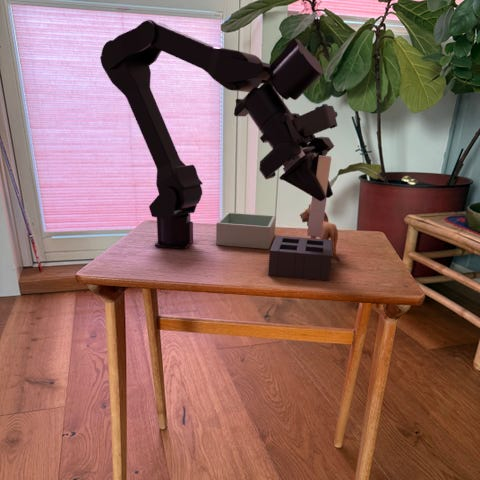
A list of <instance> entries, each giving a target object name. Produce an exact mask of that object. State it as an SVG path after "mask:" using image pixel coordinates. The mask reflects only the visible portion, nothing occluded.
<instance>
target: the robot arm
mask: <svg viewBox="0 0 480 480" xmlns="http://www.w3.org/2000/svg"><path fill="white" fill-rule="evenodd" d="M162 52H164V53H166V54H168V55H170V56H172V57H175V58H176V59H178V60H182V61H184V62H186V63H188V64H191V65H193V66H194V67H197V68H198V69H201V70H203V71H204V72H206V73H207V75H209V76H210V77H211V79H212V80H214V81H215V82H216V83H218V84H219V85H220V86H222V87H223V88H225V89H227V90H229V91H234V92H243V93H247V94H246V95H245V96H244V97H243V98H236V99H235V107H234V111H233V115H234V117H247V116H248V115H249V117H250V118H251V119H252V121H253V123H254V124H255V125H256V127H257V129H258V130H259V132H260V134H262V135H261V136H260V137H259V139H260V141H261V142H262V143H263V144H265V143H268V145H269V146H270V148H271V150H270V151H269V152H268V153H267V154H266V155H265V156H264V157H263V158H262V159H261V160H259V168H258V169H259V172H260V173H261V174H262V176H263V178H264V179H265V180H269V179H273V178H275V177H276V176H277V175H276V172H277V171H278V170H279V169H280V168H281V167H282V166H283V167H282V170H283V172H284V173H283V174H281V175H280V176H279V178H278V179H279V180H280V181H284V182H286V183H288V184H289V185H292V186H293V187H294V188H297V189H299V190H300V191H301V192H304V193H306V194H307V195H308V196H311V198H312V197H314V198H316V199H317V200H319V201H323V200H324V199H325V198H326V199H329V198H331V197H332V196H333V195H334V192H333V190H332V186H331V183H330V180H329V179H328V185H327V192H326V196H325V194H324V191H323V189H322V187H321V185H320V183H319V181H318V179H317V177H316V172H317V165H318V157H319V155H321V156H328V153H329V152H330V151H331V150H332V149H333V148H334V147H335V145H334V143H333V141H332V140H331V138H330V137H328V136H315V135H316V134H318V133H321V132H323V131H326V130H328V129H331V130H332V129H334V128H336V127H338V122H337V117H338V112H337V111H336V110H335V108H334V106H333V105H328V103H322V105H320V106H316V107H315V108H314V109H313V110H310V111H307V112H306V113H303V114H301V115H300V114H299V113H297V112H293V113H292V112H291V111H290V109H289V107H288V106H287V104H286V103H285V102H284V100H286V101H288V100H289V99H292V100H293V101H297V100H298V99H299V98H300V97H301V96H302V95H303V94H304V93H305V92H306V91H307V90H308V89H309V88H310V87H311V86H312V85H313V84H314V83H315V82H316V81H317V80H318V79H319V78H320V77H321V76H322V75H323V74H324V70H323V67H322V65H321V63H320V61H319V60H318V59H317V57H316V56H314V55H313V54H312V53H311V52H310V51H309V50H308V49H307V48H306V47H305V46H304V45H303V44H302V42H301V41H300V40H299V39H297V38H291V39H290V40H289V41H288V43H287V44H286V46H285V47H284V49H283V50H282V51H281V53H280V54H279V55H278V56H276V58H275V59H274V60H273V62H271V63H268V62H264V61H262V60H261V58H259V56H257V55H255V54H253V53H249V52H244V51H240V50H235V49H230V48H225V47H217V46H214V45H212V44H209V43H207V42H204V41H202V40H200V39H198V38H195V37H194V36H193V37H192V36H190V35H188V34H186V33H184V32H181V31H179V30H177V29H174V28H172V27H170V26H168V25H167V24H166V23H164V22H160V21H157V20H153V19H147V20H144V21H142V22H141V23H140V24H139V25H138V26H136V27H135V28H133V29H130V30H128V31H125V32H123V33H121V34H119V35H117V36H115V38H114V39H110V40H108V41H106V42H105V44H103V47H102V49H101V55H100V57H99V60H100V64H101V67H102V69H103V70H104V73H105V74H106V75H107V77H108V79H109V80H110V82H111V84H113V85H114V86H115V87H116V88H117V89H118V90H119V92H120V93H122V94H123V95H124V97H125V98H126V101H127V103H128V105H129V107H130V109H131V112H132V114H133V116H134V118H135V121H136V124H137V125H138V128H139V131H140V133H141V136H142V137H143V139H144V142H145V144H146V147H147V149H148V151H149V153H150V156H151V158H152V161H153V163H154V165H155V167H156V181H155V185H156V190H157V193H158V195H157V196H156V197H155V199H154V200H153V201H152V202H151V203H150V204H149V206H148V208H149V211H150V215H151V217H152V218H156V230H157V231H156V233H157V235H156V236H157V242H155V243H154V247H155V248H157V247H158V248H170V249H179V250H180V249H181V250H185V249H187V248H188V247H190V245H191V244H192V243H193V242H194V222H193V221H191V214H195V212H196V208H197V205H198V204H199V202H200V201H201V198H202V196H203V189H202V186H201V185H204V183H203V181H201V179H200V177H199V175H198V171H197V168H196V167H195V164H189V165H186V164H185V163H184V162H183V161H182V160H181V158H180V156H179V153H178V152H177V151H178V150H177V148H176V145H175V144H174V142H173V139H172V137H171V134H170V132H169V130H168V127H167V124H166V123H165V120H164V117H163V116H162V113H161V110H160V108H159V106H158V103H157V101H156V99H155V96H154V93H153V91H152V89H151V78H152V74H151V73H152V72H151V71H152V70H151V68H150V66H151V65H153V64H154V63H155V62H156V61H157V60H158V58H159V56H160V55H161V53H162ZM283 99H284V100H283Z"/></svg>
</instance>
